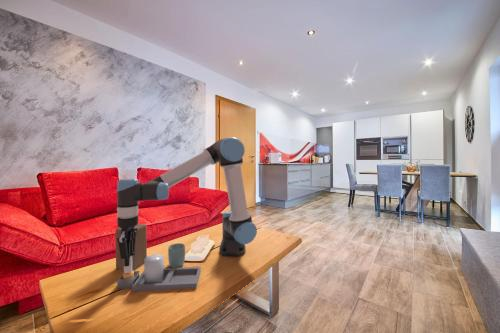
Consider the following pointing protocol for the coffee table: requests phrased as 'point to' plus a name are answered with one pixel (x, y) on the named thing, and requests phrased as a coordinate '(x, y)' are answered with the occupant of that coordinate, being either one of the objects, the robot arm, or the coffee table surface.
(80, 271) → the coffee table surface
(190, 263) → the coffee table surface
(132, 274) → the button
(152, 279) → the billet
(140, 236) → the wooden block
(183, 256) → the cup
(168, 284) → the grey divided tray
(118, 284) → the button housing
